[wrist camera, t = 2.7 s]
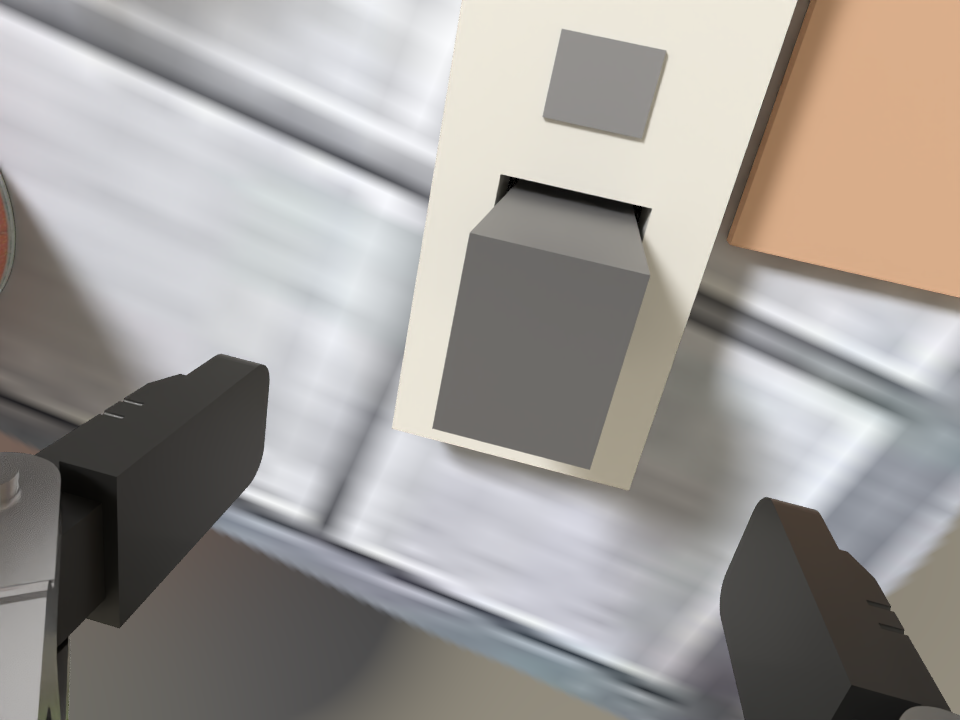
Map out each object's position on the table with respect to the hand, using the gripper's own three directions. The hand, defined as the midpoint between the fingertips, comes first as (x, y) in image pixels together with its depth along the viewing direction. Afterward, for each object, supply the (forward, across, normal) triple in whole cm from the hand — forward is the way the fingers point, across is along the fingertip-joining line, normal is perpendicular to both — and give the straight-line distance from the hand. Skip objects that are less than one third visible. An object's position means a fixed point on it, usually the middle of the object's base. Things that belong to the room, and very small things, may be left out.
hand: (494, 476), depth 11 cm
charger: (+15, 0, 0) cm, 15 cm away
